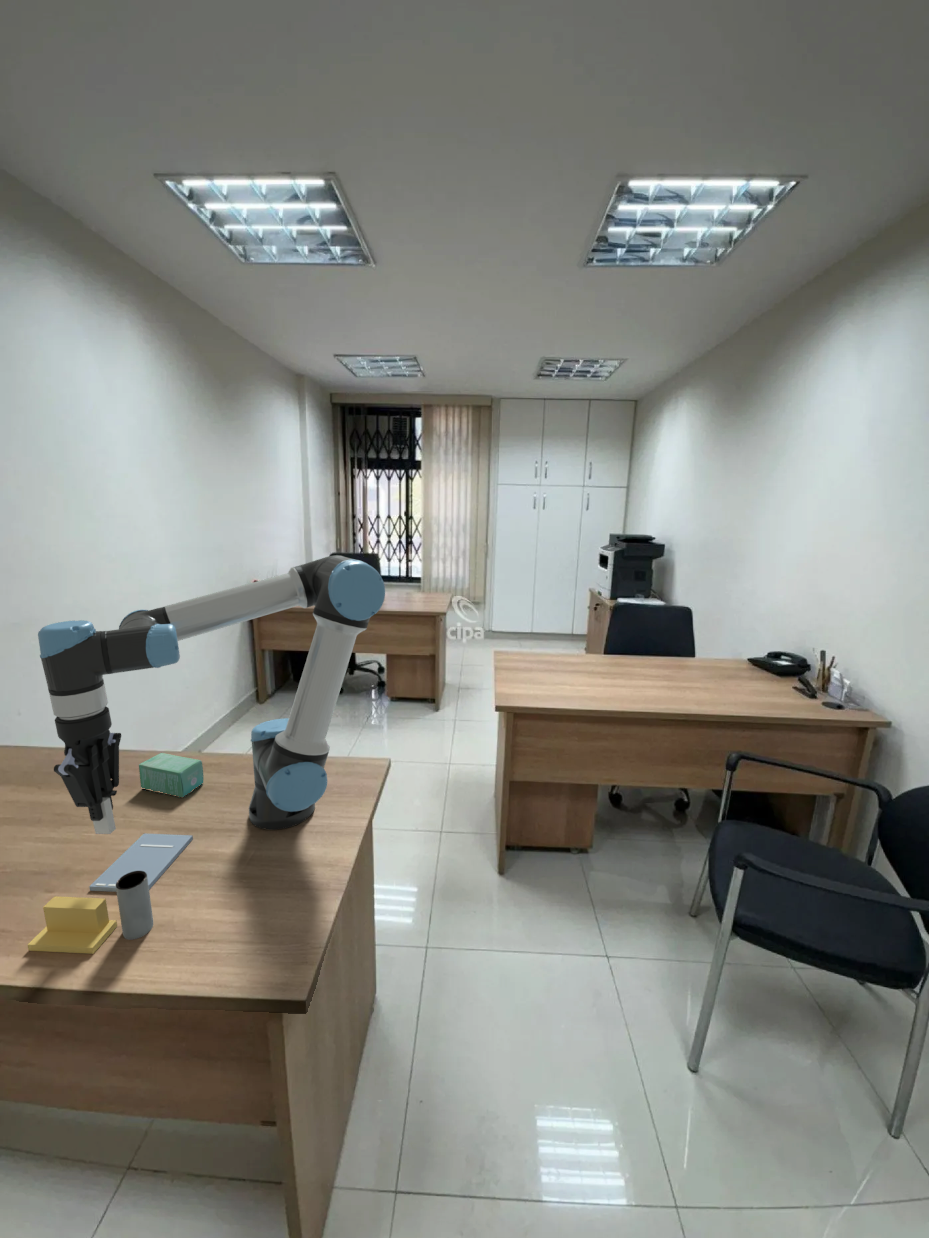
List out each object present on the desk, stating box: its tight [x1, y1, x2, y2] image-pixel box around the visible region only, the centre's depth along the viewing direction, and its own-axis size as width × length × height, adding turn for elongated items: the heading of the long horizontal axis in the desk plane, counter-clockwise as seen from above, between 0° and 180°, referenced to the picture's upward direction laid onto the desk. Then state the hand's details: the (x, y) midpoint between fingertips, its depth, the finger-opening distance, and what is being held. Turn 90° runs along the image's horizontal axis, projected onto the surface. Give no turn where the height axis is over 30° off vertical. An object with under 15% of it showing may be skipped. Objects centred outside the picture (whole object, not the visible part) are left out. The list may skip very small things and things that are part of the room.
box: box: [138, 752, 204, 798], centre depth 132 cm, size 7×14×8 cm, turn 76°
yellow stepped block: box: [27, 895, 118, 955], centre depth 85 cm, size 11×6×6 cm, turn 88°
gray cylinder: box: [115, 871, 154, 941], centre depth 87 cm, size 4×4×10 cm
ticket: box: [88, 833, 194, 893], centre depth 104 cm, size 11×16×1 cm
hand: (105, 831), depth 92 cm, fingers closed
